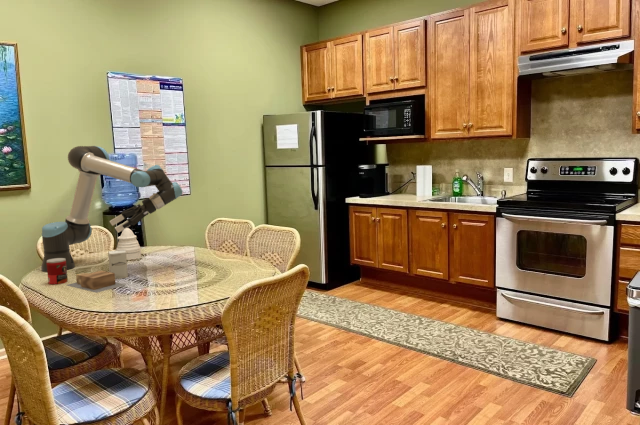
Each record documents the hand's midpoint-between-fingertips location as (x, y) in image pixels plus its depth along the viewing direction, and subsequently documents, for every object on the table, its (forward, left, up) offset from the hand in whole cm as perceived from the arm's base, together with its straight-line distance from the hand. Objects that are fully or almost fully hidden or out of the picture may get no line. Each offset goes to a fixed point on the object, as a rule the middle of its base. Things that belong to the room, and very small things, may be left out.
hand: (113, 226), depth 236 cm
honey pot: (-28, +26, -23) cm, 45 cm away
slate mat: (+13, -19, -23) cm, 32 cm away
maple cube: (+5, -20, -22) cm, 30 cm away
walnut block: (+15, -19, -22) cm, 32 cm away
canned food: (-7, -25, -23) cm, 35 cm away
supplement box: (+9, -5, -23) cm, 25 cm away
